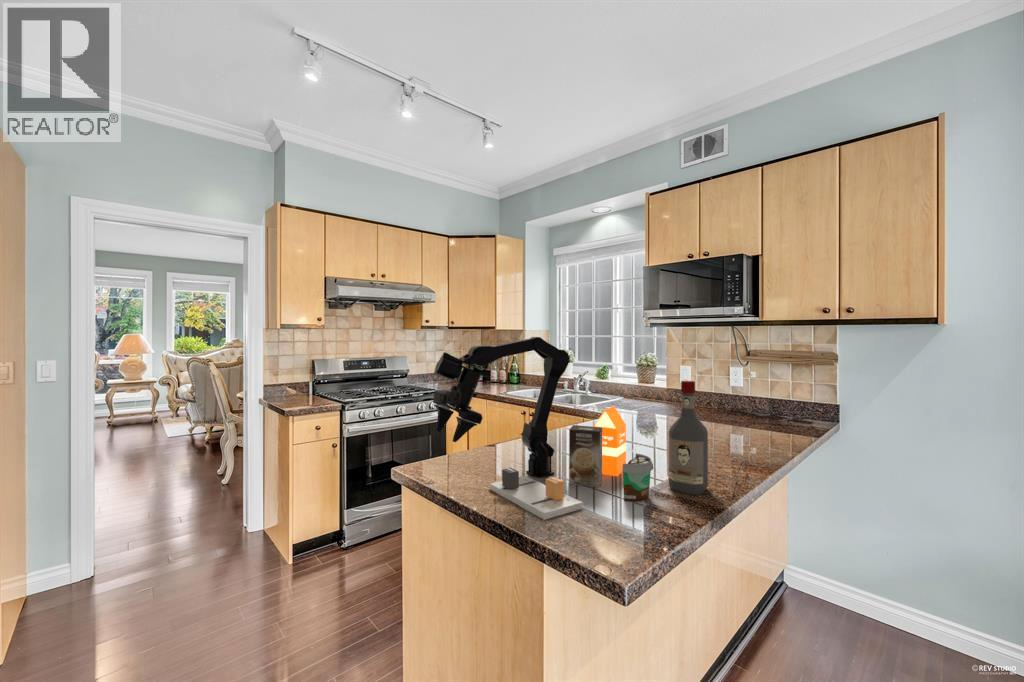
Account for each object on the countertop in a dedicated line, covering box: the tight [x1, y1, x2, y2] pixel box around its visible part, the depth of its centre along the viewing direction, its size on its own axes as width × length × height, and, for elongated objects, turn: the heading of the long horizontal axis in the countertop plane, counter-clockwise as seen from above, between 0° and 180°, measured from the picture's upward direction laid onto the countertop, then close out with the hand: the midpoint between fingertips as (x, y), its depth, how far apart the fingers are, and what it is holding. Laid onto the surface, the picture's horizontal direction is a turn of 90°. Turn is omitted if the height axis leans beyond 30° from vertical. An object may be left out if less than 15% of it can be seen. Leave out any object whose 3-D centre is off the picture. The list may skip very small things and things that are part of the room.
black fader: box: [501, 467, 520, 489], centre depth 122 cm, size 3×4×5 cm
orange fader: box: [544, 476, 565, 501], centre depth 114 cm, size 3×4×5 cm
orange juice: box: [592, 406, 627, 477], centre depth 142 cm, size 8×9×20 cm
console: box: [489, 475, 584, 521], centre depth 118 cm, size 12×25×2 cm, turn 33°
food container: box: [622, 453, 654, 503], centre depth 119 cm, size 12×6×10 cm, turn 148°
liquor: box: [668, 380, 709, 496], centre depth 125 cm, size 9×9×30 cm
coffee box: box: [568, 424, 603, 488], centre depth 131 cm, size 9×6×16 cm
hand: (445, 436), depth 129 cm, fingers open, 9 cm apart
